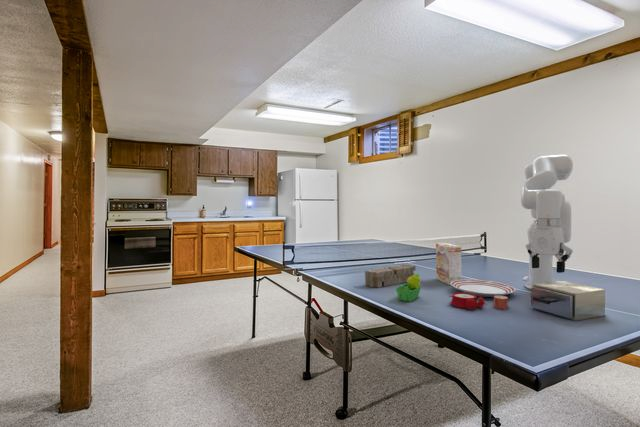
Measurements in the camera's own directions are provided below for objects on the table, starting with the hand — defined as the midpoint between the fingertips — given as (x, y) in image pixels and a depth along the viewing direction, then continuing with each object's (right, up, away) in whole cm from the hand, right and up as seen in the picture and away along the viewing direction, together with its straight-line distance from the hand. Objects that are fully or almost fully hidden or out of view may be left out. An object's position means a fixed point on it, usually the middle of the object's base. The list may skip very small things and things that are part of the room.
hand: (547, 270), depth 133 cm
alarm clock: (-24, -17, +13) cm, 32 cm away
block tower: (-46, -16, +56) cm, 74 cm away
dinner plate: (-9, -16, +35) cm, 39 cm away
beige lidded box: (+10, -16, +4) cm, 20 cm away
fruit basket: (-44, -17, +25) cm, 53 cm away
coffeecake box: (-16, -15, +58) cm, 62 cm away
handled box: (+6, -16, +3) cm, 17 cm away
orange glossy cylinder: (-12, -17, +11) cm, 23 cm away
